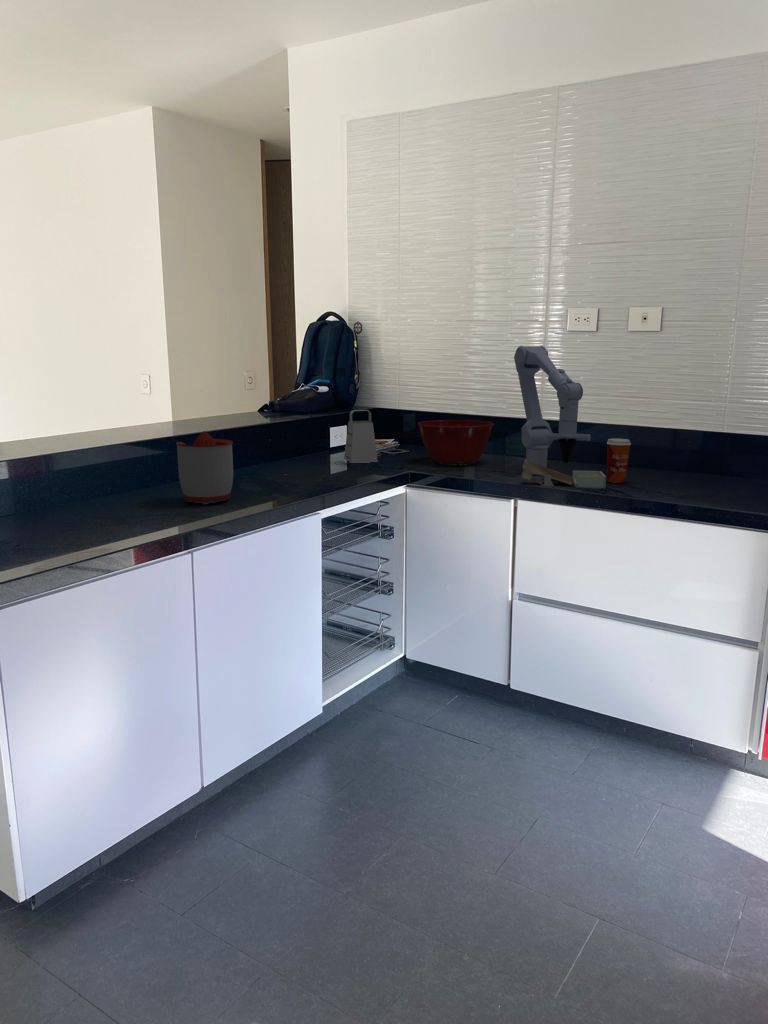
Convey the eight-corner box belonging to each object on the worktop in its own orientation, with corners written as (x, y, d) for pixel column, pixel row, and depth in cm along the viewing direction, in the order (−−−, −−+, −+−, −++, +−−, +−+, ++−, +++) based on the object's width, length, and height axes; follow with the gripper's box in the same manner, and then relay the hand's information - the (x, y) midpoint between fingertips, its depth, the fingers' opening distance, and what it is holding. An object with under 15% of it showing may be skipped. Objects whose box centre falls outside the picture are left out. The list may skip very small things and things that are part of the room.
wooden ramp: (518, 470, 251) (523, 456, 249) (564, 486, 250) (570, 471, 248) (520, 477, 238) (525, 461, 237) (569, 493, 237) (575, 478, 236)
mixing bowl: (404, 460, 290) (404, 420, 286) (467, 456, 301) (468, 417, 298) (439, 471, 265) (440, 427, 261) (507, 466, 276) (508, 424, 273)
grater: (343, 462, 284) (343, 409, 280) (370, 461, 287) (370, 409, 283) (350, 466, 274) (350, 411, 270) (378, 465, 277) (378, 411, 273)
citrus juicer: (208, 493, 224) (205, 426, 220) (246, 500, 214) (244, 430, 209) (164, 501, 213) (160, 431, 208) (202, 509, 202) (198, 435, 198)
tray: (572, 481, 245) (572, 470, 244) (600, 482, 244) (601, 471, 243) (576, 488, 234) (576, 476, 233) (605, 488, 233) (606, 476, 232)
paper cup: (612, 484, 240) (615, 441, 237) (599, 480, 247) (602, 438, 244) (633, 483, 242) (636, 440, 239) (620, 479, 249) (623, 437, 246)
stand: (539, 481, 245) (539, 470, 244) (551, 482, 244) (552, 470, 243) (541, 486, 237) (541, 474, 236) (553, 486, 236) (554, 474, 236)
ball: (593, 471, 239) (601, 476, 239) (587, 480, 240) (596, 484, 240) (594, 473, 236) (603, 477, 236) (589, 481, 237) (598, 486, 237)
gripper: (546, 421, 239) (544, 463, 242) (592, 422, 237) (590, 464, 240) (544, 419, 246) (542, 460, 249) (589, 420, 244) (587, 461, 247)
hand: (565, 462), depth 245 cm, fingers closed
